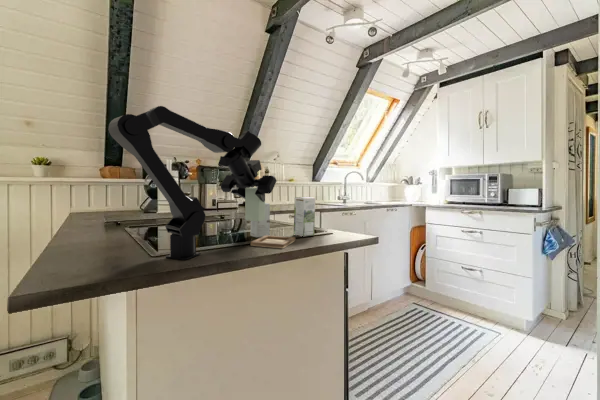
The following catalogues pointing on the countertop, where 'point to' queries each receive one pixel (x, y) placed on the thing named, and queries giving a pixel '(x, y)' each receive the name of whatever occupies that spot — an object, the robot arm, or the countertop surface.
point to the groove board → (273, 241)
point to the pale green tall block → (253, 206)
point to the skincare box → (261, 224)
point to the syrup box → (304, 216)
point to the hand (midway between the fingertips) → (257, 200)
